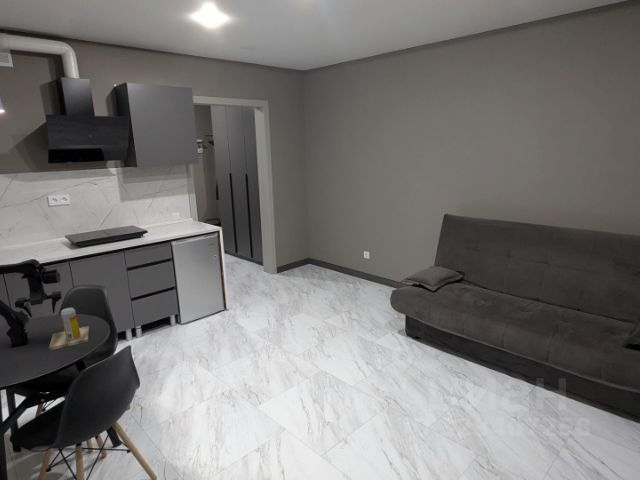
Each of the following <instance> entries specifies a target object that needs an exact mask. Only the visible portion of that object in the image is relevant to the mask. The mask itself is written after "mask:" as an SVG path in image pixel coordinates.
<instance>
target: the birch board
mask: <svg viewBox="0 0 640 480" xmlns="http://www.w3.org/2000/svg"><path fill="white" fill-rule="evenodd" d="M79 330H80V337H79V338H77V339H75V340H68V339H66V335H65V331H64V330H63V331H58V332H54V333H52V336H51V340H50V343H49V347H48V349H49V351H52V350H57V349H63V348H66V347H71V346H75V345H80V344H83V343H84V344H85V343H89V337H90V325H87V326H82V327H79Z"/></svg>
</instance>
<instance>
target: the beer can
mask: <svg viewBox="0 0 640 480" xmlns="http://www.w3.org/2000/svg"><path fill="white" fill-rule="evenodd" d="M60 317H61V321H62V326H63V331H65V335H66V339H68V340H75V339H77V338H79V337H80V330H79V328H80V327H79V321H78V317H77V312H76V309H75V308H74V307H66V308H64V309H62V310H61V311H60Z"/></svg>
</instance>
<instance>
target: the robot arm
mask: <svg viewBox="0 0 640 480" xmlns="http://www.w3.org/2000/svg"><path fill="white" fill-rule="evenodd" d="M6 274H22V276H21V277H20V279H21V280H25V279H26V282H27V286H28V289H29V290H28V291H29V295H28V296H29V297H28V298H27V297H26V296H24V297H23V296H22V297H17V298H16V300H15V302H14V307H15V308H19V309H21V310H20V311H16V310H14V309H13V308H11V307H10V306H9V305H7V304H6V303H5V302H4V301H2V300H1V299H0V316H1V317H3V318H4V320H5V321H6V324H7V326H9V329H8V330H7V331H6V332H5V333H6V335H7V336H8V337H9V339H10V343H11V345H10V348H16V347H22V346H25V345H28V343H29V342H30V336H29V331H27V329H26V328H27V326H28V324H30V318H33V313H32V309H31V307H32V306H33V307H34V306H36V305H42V304H43V302H44V301H46V300H51V308H52V313H53V314H55V311H56V305H57V303H58V302H59V300H62V298H63V293H62V291H60V290H58V291H53V292H51V294H47V292H46V291H45V289H44V288H45V287H44V285H53V284H60V282H61V277H62V276H61V274H60V272H59V271H58V269H57V268H54V269H48V270H47V268H45V267H44V266H43V265H42V264H40V261H39V260H37V259H35V258H32V259H27V260H23V261H20V262H17V263H9V264H7V263H5V264H0V275H6ZM23 310H24V311H25V312H26V313H27V314H26V313H25V312H24V311H23ZM29 317H30V318H29Z"/></svg>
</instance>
